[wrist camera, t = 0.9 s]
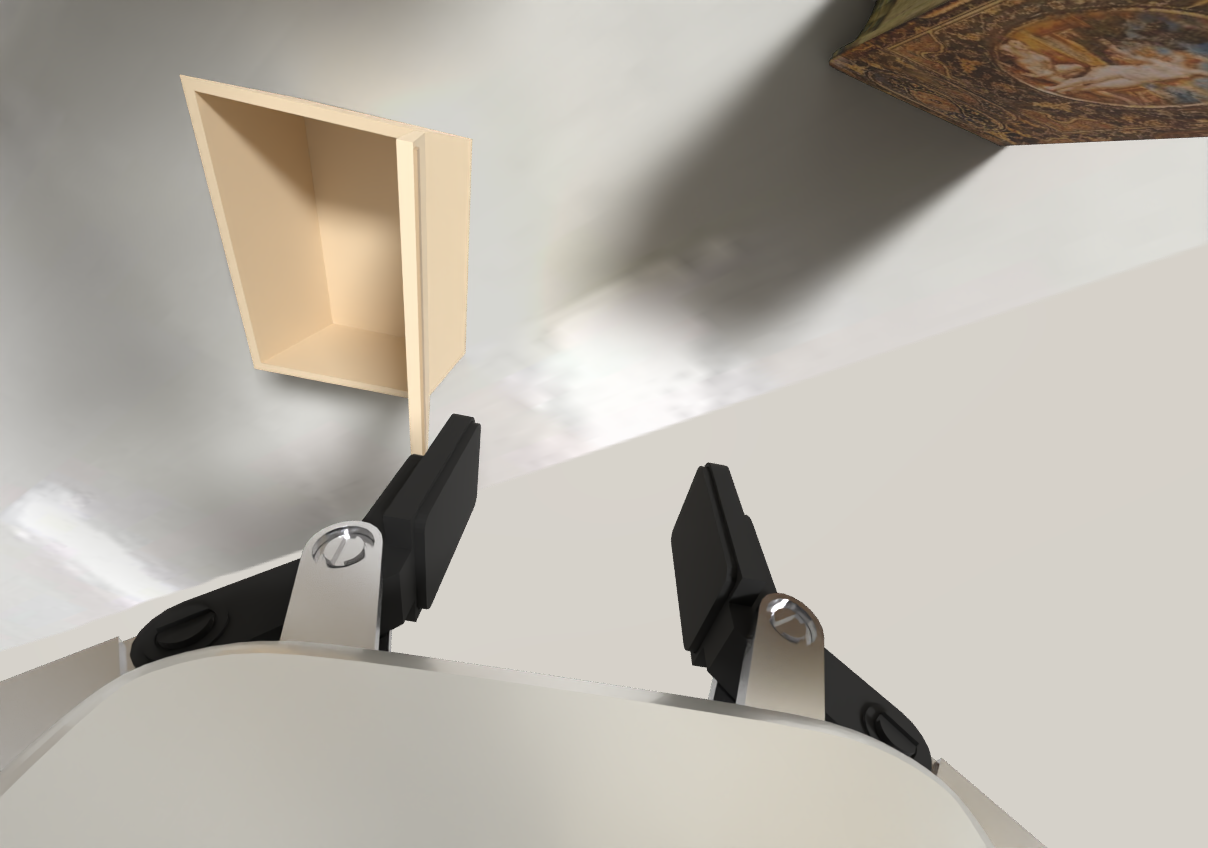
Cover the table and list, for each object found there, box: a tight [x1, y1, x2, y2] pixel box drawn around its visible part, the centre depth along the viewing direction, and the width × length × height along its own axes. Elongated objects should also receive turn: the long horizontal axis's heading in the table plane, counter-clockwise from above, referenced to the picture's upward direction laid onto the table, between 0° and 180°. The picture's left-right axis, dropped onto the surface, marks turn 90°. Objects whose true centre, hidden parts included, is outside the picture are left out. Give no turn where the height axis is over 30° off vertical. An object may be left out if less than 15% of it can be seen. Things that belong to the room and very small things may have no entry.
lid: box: [396, 130, 430, 456], centre depth 24 cm, size 18×13×1 cm
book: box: [829, 0, 1208, 146], centre depth 19 cm, size 16×6×25 cm, turn 71°
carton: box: [180, 75, 472, 398], centre depth 33 cm, size 18×13×10 cm
